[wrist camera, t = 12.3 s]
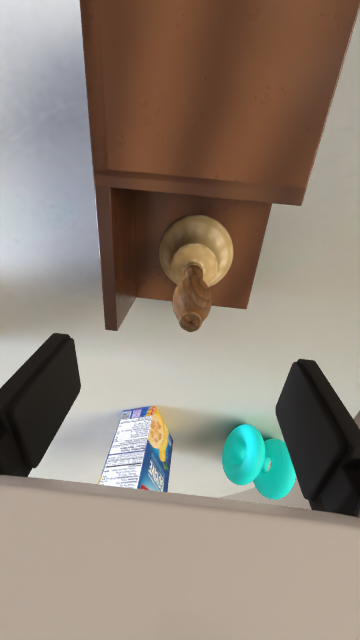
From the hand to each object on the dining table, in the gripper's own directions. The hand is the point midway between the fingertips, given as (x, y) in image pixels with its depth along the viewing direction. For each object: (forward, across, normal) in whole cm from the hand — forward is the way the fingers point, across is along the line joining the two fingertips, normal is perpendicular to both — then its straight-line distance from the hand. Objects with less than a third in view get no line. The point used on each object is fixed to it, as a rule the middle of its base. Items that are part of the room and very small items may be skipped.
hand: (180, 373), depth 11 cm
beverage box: (+25, +5, +37) cm, 45 cm away
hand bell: (+20, 0, 0) cm, 20 cm away
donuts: (+25, -16, +36) cm, 47 cm away
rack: (+25, 0, -7) cm, 26 cm away
